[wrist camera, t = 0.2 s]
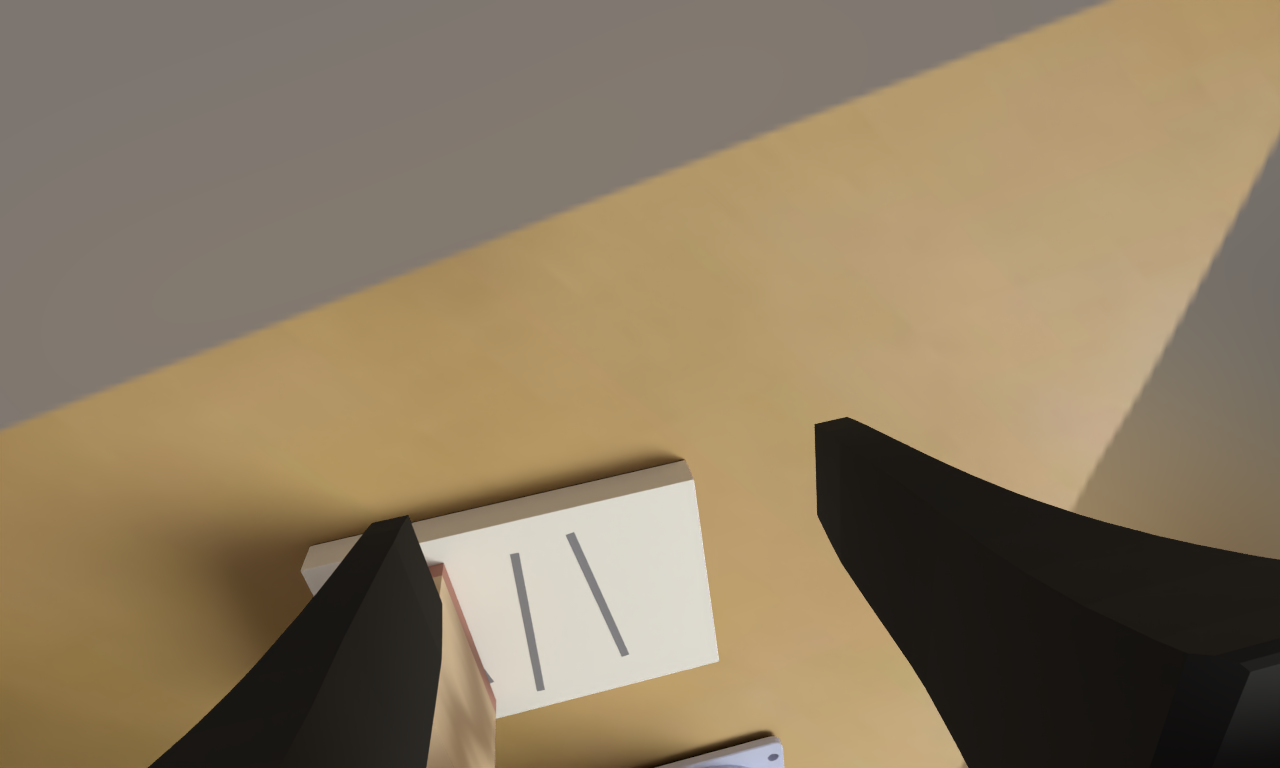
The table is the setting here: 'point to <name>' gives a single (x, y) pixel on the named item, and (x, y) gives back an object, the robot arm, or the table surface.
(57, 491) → the table surface
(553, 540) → the board
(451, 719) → the block
